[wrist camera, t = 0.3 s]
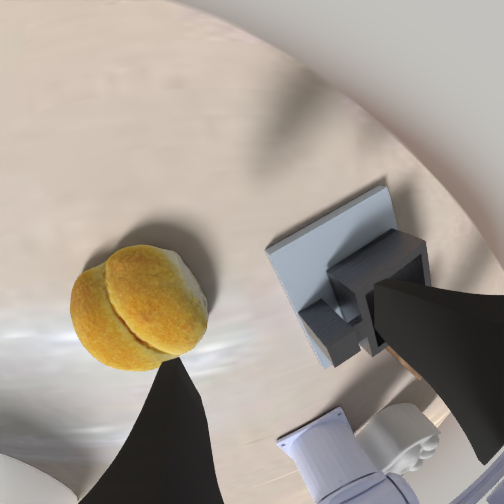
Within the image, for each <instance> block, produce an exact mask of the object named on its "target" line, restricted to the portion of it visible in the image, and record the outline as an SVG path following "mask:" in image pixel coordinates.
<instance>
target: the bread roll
mask: <svg viewBox="0 0 504 504" xmlns="http://www.w3.org/2000/svg"><path fill="white" fill-rule="evenodd" d="M70 313H71V318H72V322H73V326H74V329H75V331H76V334H77V336H78V338H79V340H80V341H81V343H82V345H83V346H84V347H85V348H86V350H87V351H88V352H89V353H90V354H91V355H92V356H93V357H94V358H96V359H97V360H98V361H100V362H101V363H103V364H105V365H107V366H110V367H112V368H116V369H121V370H126V371H148V370H152V369H156V368H158V367H160V365H161V363H162V362H163V361H167V360H170V359H174V358H176V357H177V356H179V355H181V354H183V353H186V352H188V351H190V350H191V349H193V348H194V347H195V346H196V344H197V343H198V342H199V341H200V340H201V339H202V337H203V335H204V334H205V332H206V329H207V322H208V312H207V299H206V298H205V295H204V293H203V291H202V290H201V288H200V286H199V284H198V282H197V280H196V278H195V277H194V275H193V274H192V273H191V271H190V270H189V268H188V267H187V265H185V264H184V262H183V260H182V259H181V257H180V256H179V255H178V254H177V253H176V252H175V251H172V250H166V249H161V248H158V247H155V246H151V245H142V244H139V245H134V246H129V247H124V248H122V249H120V250H118V251H116V252H115V253H113V254H112V255H111V256H110V257H109V258H108V259H107V260H106V261H105V262H103V263H102V264H100V265H98V266H95V267H92V268H90V269H88V270H86V271H84V272H83V273H82V274H81V275H80V276H79V277H78V278H77V280H76V282H75V283H74V286H73V289H72V293H71V303H70Z"/></svg>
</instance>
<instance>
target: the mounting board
mask: <svg viewBox="0 0 504 504" xmlns="http://www.w3.org/2000/svg"><path fill="white" fill-rule="evenodd" d="M391 228H393V229H396V230H398V226H397V222H396V218H395V214H394V210H393V206H392V202H391V198H390V195H389V191H388V188H387V187H386V186H381V185H378V186H377V187H375V188H373V189H371V190H370V191H368V192H366V193H364V194H363V195H361V196H359V197H357V198H356V199H354V200H352V201H350V202H348V203H347V204H345V205H343V206H341V207H340V208H338V209H336V210H334V211H333V212H331V213H329V214H327V215H326V216H324V217H322V218H320V219H319V220H317V221H315V222H313V223H312V224H310V225H308V226H306V227H305V228H303V229H301V230H299V231H297V232H296V233H294V234H292V235H290V236H289V237H287V238H285V239H283V240H282V241H280V242H278V243H276V244H275V245H273V246H271V247H269V248H267V249H266V250H265V252H266V254H267V256H268V258H269V260H270V262H271V264H272V266H273V268H274V270H275V272H276V274H277V276H278V278H279V280H280V282H281V284H282V286H283V288H284V290H285V292H286V294H287V297H288V299H289V301H290V303H291V305H292V307H293V309H294V311H295V313H296V315H297V317H298V319H299V321H300V323H301V325H302V327H303V329H304V332H305V334H306V336H307V338H308V340H309V342H310V344H311V346H312V348H313V350H314V352H315V354H316V356H317V359H318V361H319V363H320V364H321V365H322V367H323V368H324V369H326V368H328V367H329V366H331V365H332V363H331V362H330V361H329V360H328V358H327V357H326V356H325V355H324V353H323V352H322V351H321V349H320V348H319V347H318V346H317V344H316V343H315V342H314V340H313V339H312V338H311V337H310V335H309V334H308V333H307V332H306V329H305V327H304V325H303V323H302V321H301V319H300V317H299V315H298V312H300V311H301V310H303V309H305V308H306V307H308V306H310V305H311V304H313V303H314V302H316V301H318V300H319V299H321V298H322V299H323V300H324V301H325V302H326V303H327V304H328V305H329V306H330V307H331V308H332V309H333V310H334V311H335V312H336V313H337V314H338V315H339V316H340V317H341V318H342V319H343V317H342V314H341V311H340V309H339V306H338V303H337V300H336V297H335V295H334V292H333V289H332V287H331V284H330V281H329V278H328V276H327V273H326V270H328V269H329V268H331V267H332V266H334V265H336V264H337V263H339V262H340V261H342V260H344V259H345V258H347V257H348V256H350V255H351V254H353V253H354V252H356V251H358V250H359V249H361V248H362V247H364V246H365V245H367V244H368V243H370V242H371V241H373V240H374V239H376V238H377V237H379V236H380V235H382V234H383V233H385V232H386V231H388V230H389V229H391ZM359 346H361V345H360V344H359Z"/></svg>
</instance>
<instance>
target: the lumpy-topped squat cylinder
mask: <svg viewBox="0 0 504 504" xmlns="http://www.w3.org/2000/svg"><path fill="white" fill-rule="evenodd" d="M440 437H441V433H440V431H439V430H438V429H437V428H436V427H435V426H434V424H433V423H432V422H431V421H430V420H429V419H428V418H427V417H426V416H425V415H424V414H423V413H422V412H421V411H420V410H419V409H418V408H417V407H416V406H415V404H413V403H397V404H393V405H390V406H388V407H386V408H384V409H383V410H381V411H380V412H379V413H377V414H376V415H375V416H374V417H373V418H372V419H371V421H370V422H369V423H368V424H367V426H366V427H365V428H364V429H363V430H362V431H361V432H360V433H359V434H358V435H357V436H356V437H355V439H356V440H357V441H358V443H359V444H360V446H361V447H362V449H363V450H364V452H365V453H366V454H367V456H368V457H369V459H370V460H371V462H372V463H373V464H374V466H375V467H376V469H377V470H378V471H379V470H382V471H383V473H384V474H387V473H389V472H392V473H397V474H399V475H401V476H403V474H404V473H405V472H407V471H416V470H418V469H419V468H420V467H421V466H422V464H423V460H425V459H427V458H430V457H432V456H433V454H434V452H435V448H436V446H437V445H438V444H439V440H440Z"/></svg>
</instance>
